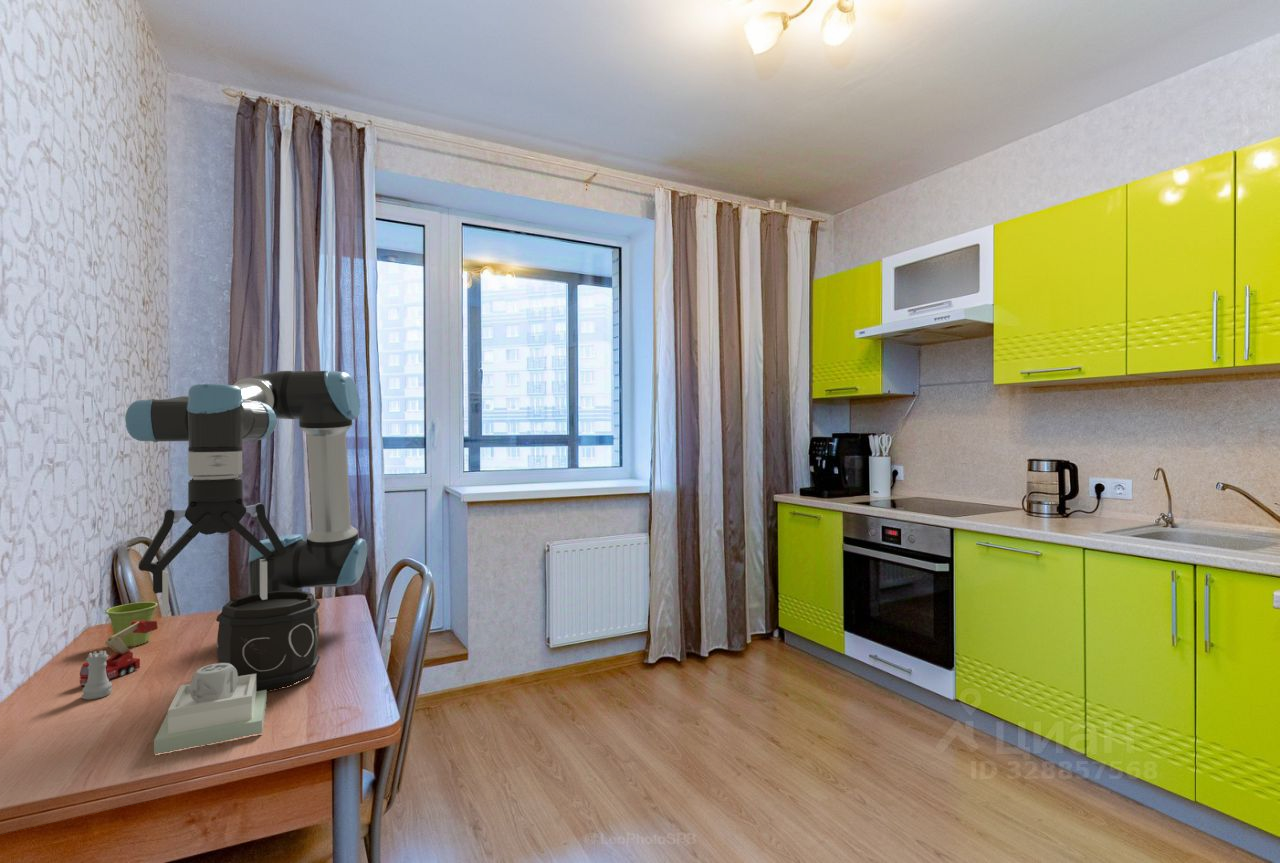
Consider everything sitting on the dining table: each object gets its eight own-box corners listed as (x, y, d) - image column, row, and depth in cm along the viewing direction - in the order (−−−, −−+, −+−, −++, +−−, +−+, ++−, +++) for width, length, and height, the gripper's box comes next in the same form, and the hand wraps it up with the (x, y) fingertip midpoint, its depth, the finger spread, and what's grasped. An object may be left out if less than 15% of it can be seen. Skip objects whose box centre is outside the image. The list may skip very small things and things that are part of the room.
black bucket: (340, 673, 128) (340, 595, 129) (245, 704, 114) (245, 616, 114) (294, 656, 139) (294, 584, 139) (201, 682, 124) (202, 602, 124)
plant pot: (116, 653, 141) (116, 614, 141) (99, 646, 146) (99, 608, 146) (164, 641, 149) (164, 605, 149) (147, 635, 154) (147, 599, 154)
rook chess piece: (114, 695, 118) (114, 652, 118) (83, 702, 115) (83, 658, 115) (110, 688, 121) (110, 647, 121) (79, 696, 118) (79, 653, 118)
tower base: (266, 706, 114) (266, 669, 114) (262, 739, 102) (261, 697, 102) (171, 723, 107) (171, 683, 107) (153, 760, 95) (154, 715, 95)
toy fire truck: (76, 687, 122) (76, 637, 122) (145, 662, 135) (145, 617, 135) (90, 688, 121) (90, 638, 121) (157, 663, 135) (157, 618, 135)
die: (223, 703, 102) (223, 672, 102) (189, 706, 101) (189, 675, 101) (238, 690, 107) (237, 661, 107) (206, 693, 106) (205, 663, 106)
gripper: (118, 482, 94) (118, 624, 94) (304, 475, 110) (304, 596, 110) (119, 479, 100) (119, 613, 100) (295, 472, 116) (296, 588, 116)
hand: (216, 605), depth 105 cm, fingers open, 13 cm apart
